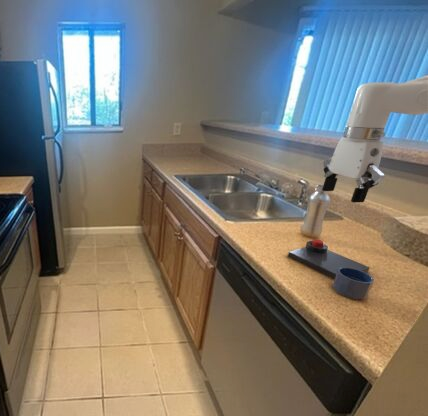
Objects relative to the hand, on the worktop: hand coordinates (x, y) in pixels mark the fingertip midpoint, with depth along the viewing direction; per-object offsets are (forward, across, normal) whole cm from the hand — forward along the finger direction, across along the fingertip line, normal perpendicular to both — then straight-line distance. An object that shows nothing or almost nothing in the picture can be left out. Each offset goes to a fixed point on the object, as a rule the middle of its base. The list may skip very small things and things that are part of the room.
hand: (341, 196), depth 78 cm
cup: (+24, -12, +1) cm, 27 cm away
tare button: (+20, +8, -5) cm, 22 cm away
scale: (+24, +1, -4) cm, 24 cm away
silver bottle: (+24, +21, -13) cm, 34 cm away
